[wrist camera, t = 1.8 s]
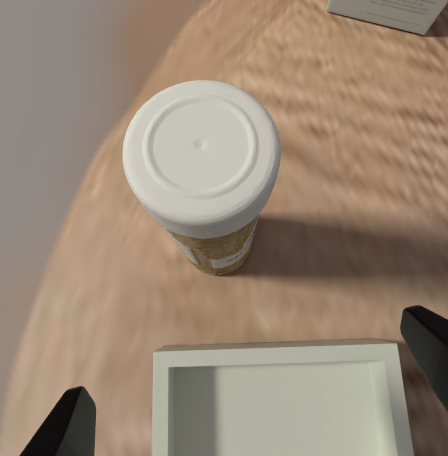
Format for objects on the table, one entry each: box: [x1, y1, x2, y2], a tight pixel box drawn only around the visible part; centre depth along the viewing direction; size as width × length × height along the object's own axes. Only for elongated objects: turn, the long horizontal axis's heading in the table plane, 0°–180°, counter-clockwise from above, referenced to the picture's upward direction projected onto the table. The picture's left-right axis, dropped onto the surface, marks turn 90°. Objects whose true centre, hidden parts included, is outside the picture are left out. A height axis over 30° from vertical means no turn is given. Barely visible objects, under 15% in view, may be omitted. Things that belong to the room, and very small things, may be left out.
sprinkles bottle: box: [123, 80, 281, 275], centre depth 16 cm, size 5×5×13 cm
